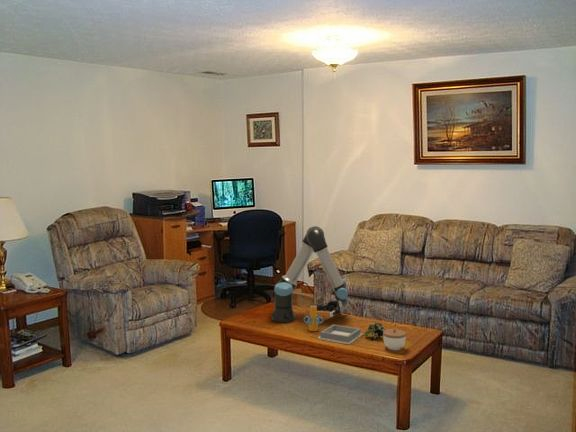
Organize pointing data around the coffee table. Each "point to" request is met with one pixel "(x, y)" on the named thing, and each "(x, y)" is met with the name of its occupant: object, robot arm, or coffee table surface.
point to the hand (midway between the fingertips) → (320, 313)
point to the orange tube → (313, 319)
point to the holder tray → (340, 334)
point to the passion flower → (375, 330)
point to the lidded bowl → (394, 338)
